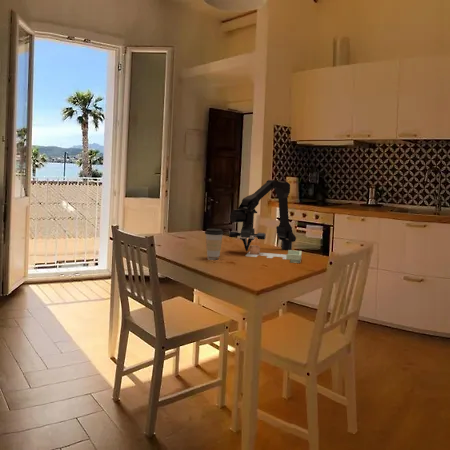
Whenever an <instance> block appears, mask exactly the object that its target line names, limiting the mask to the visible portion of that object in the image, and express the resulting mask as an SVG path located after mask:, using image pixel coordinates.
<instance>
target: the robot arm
mask: <svg viewBox="0 0 450 450" xmlns="http://www.w3.org/2000/svg"><path fill="white" fill-rule="evenodd" d="M273 189H274V193H275V194H276V196H277V198H278V210H279V211H278V212H279V213H278V215H279V223H278V225H277V226H276V227H275V228H276V235H277V237H278V240H279V241H281V250H283V251H288V250H293V249H292V248H293V243H295V242H296V241H297V237H296V235H295V234H294V233H293V227H292V225H291V223H290V220H289V217H290V216H289V202H288V197H289V195H290V193H291V185H290V183H289V182H288V181H279V180H278V181H277V180H275V179H268V180H267V181H266V182H265V183H264V184H263V185H262V186H260V187H259V188H258V189H257V190H256V191H255V192H253V193H252V194H250V195H247V196H246V197H243V198H242V200H241V202H240V203H239V206H238V207H237V209H236V208H235V209H232V212H230V215H229V219H230V222H231V223H233V224H234V223H242V225H241V226H242V227H241V230H240V232H239V230H231V231H230V232H229V233H228V237H229V238H235V237H240V238H239V240H241V241H242V243H243V245H244V250H245V252H249V249H250V246H251V244H252V241H255V238H257V240H266V237H267V235H266V233H265V232H257V233H255V228H254V221H255V219H254V218H255V214H258V211H257V210H256V208H257V206H258V205H259V204H260V203H259V202H260V201H261V200H262V199H263V198H264V197H265V196H267V194H269V192H271V191H272V190H273Z"/></svg>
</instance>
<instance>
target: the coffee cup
mask: <svg viewBox="0 0 450 450" xmlns="http://www.w3.org/2000/svg"><path fill="white" fill-rule="evenodd" d="M224 233H225V232H224V231H223V229H221V228H206V229H205V231H204V234H205V244H206V246H205V247H206V256H207V257H206V258H207V260H209V261H219V259H220V258H219V257H220V254H221V250H222V249H221V248H222V242H223V240H222V239H223V235H224Z"/></svg>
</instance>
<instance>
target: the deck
mask: <svg viewBox="0 0 450 450" xmlns="http://www.w3.org/2000/svg"><path fill="white" fill-rule="evenodd" d="M302 253H303V251H302V250H295V249H292V250H287V253H286V254H284V253H283V254H282V253H271V252H260V253H259V254H257V255H255V254H250V251H247V253H246V254H245V257H250V258H251V257H252V258H257V257H258V256H262V257H266V259H273V258H275V257H277V258H282V260H289V263H295V264H301V261H302Z"/></svg>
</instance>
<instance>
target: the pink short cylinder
mask: <svg viewBox="0 0 450 450" xmlns="http://www.w3.org/2000/svg"><path fill="white" fill-rule="evenodd" d="M260 250H261V246H260V245H257V244H255V245H253V244H252V245H251V244H250V246H249V252H250V254H255V255H257V254H259V253H261V252H260Z"/></svg>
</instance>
